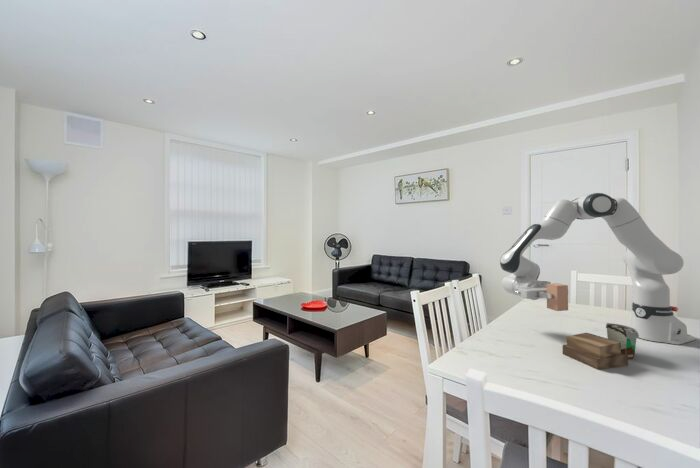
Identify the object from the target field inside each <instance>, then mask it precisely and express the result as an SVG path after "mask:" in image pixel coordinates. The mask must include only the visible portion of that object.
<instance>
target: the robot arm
mask: <svg viewBox="0 0 700 468" xmlns="http://www.w3.org/2000/svg"><path fill="white" fill-rule="evenodd" d="M596 218H602V220H604V222H606V223H607V225H608V227H609V228H610V230H611V232H613V234H614V236H615V237H616V239H617V240H618V242H619V243H620V244H621V245H623V246H624V247H626V248H627V250H626V251H625V252H624V253H623V262H624V263H625V265H626V266H627V268H628V272H629V275H630V277H631V282H632V285H633V286H632V287H633V290H632V291H633V292H632V293H633V302H632V303H631V308H632V309H631V310H632V312H631V313H630V316H629V324H628V325H629V326H628V327H631V328H634V329H636V330H637V332H638V335H639V338H638V339H642V340H646V341H651V342H656V343H657V342H658V343H667V344H672V345H678V346H679V345H683V344H686V343H689V342H692V341H693V342H694V341H696V340H697V338H696V337H695V336H693V335H691V334H688V327H687V325H686V324H685V322H683V321H681V320H680V319H679V318H678V317H676V315H674V312H675V313H677V312H678V310H679V308H678V307H677V306H672V305H671V303H670V301H671V292H670V291H671V290H670V287H669V285H668V284H667V283H666V281H665V279H664V275H673V274H676V273H678V272H680V271H681V270H682V269H683V267H684V259H683V257H682V256H681V255H680V254H679V253H677V252H676V251H674V250H673V249H671V248H670V247H669V246H667V245H666V244H665V243H664V242H663V241H662V240H661V239H660V238H659V237H658V236H657V235H656V234H655V233H654V232H652V230H651V229H650V227H649V226H648V225H647V223H646V222H645V220H644V218H643V217H642V216H641V215H640V213H639V212H638V211H637V210H636V208H635V207H634V206H633V205H632V204H631V202H629V201H628V200H627V199H625V198H622V197H616V198H615V197H614V198H613V197H612V196H610V195H608V194H606V193H603V192H594V193H591V194H585V195H583V196H580V197H578V198H575V199H573V200H569V199H558V200H557V201H556V202H554V203H553V204H552V206H551V207H550V208H549V209H548V211H547V212H546V213H545V215H544V216H543V218H541V220H540V221H539V222H537V223H534V224H532V225H530V226H529V227H528V228H527V229H526V230H524V232H523V233H522V234H521V235H520V236H519V238H518V239H517V240H516V241H515V243H513V245H511V247H510V248H509V249H507V251H506V252H504V253H503V254H502V256H501V257H500V259H499V264H500V267H501V268H500V269H501V270H503V271H505V272H507V273H510V274H509V275H507V276H505V277H503V279H501V285H502V288H503V290H504V291H506V292H507V293H508V294H512V295H514V296H517V297H520V298H521V297H522V298H524V299H527V300H532V301H537V300H539V299H547V298H550V299H551V298H554V295H553V294H551V293H547V284H552V283H551V282H550V281H544V280H543V281H542V280H538V279H539V276H540V273H541V268H540V265H538V264H537V263H535V262H534V261H532V260H530V259H529V258H526V257H525V256H523V254H524V253H525V251H526V250H527V249H528V248H529V247H530V245H532V243H533V242H535V241H536V240H548V241H554V240H558V239H561V238H562V237H564V236H565V234H566V233H567V232H568V230H569V229H570V227H571V226H572V224H573V222H574V221H575V220H583V221H584V220H593V219H596Z"/></svg>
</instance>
